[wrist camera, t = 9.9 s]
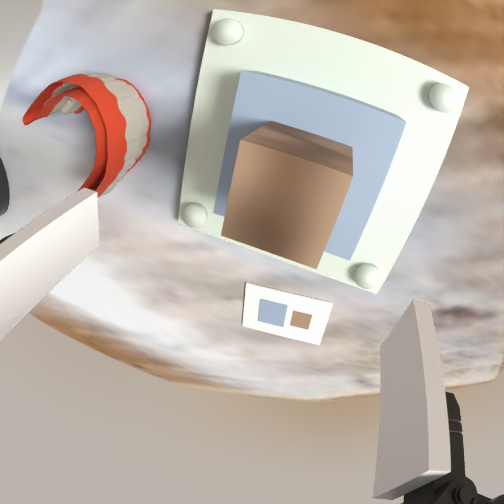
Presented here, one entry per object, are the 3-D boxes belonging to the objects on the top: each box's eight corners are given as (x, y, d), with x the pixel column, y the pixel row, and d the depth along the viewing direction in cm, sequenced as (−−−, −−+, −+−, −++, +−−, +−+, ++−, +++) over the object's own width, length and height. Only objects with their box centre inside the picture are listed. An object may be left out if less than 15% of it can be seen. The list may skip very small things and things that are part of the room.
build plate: (182, 219, 35) (173, 228, 33) (218, 11, 22) (208, 7, 20) (376, 287, 32) (376, 300, 30) (464, 86, 20) (473, 87, 18)
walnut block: (253, 193, 25) (220, 235, 19) (271, 120, 22) (240, 139, 16) (326, 218, 24) (316, 269, 19) (352, 146, 21) (353, 176, 15)
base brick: (229, 195, 30) (213, 213, 27) (256, 70, 23) (241, 70, 20) (350, 237, 29) (349, 260, 26) (398, 115, 22) (406, 122, 19)
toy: (184, 139, 30) (137, 162, 23) (121, 185, 35) (76, 214, 28) (124, 45, 26) (69, 47, 19) (72, 102, 31) (20, 118, 24)
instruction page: (242, 324, 40) (242, 326, 40) (246, 282, 37) (245, 283, 36) (319, 343, 39) (319, 345, 38) (333, 302, 35) (332, 304, 34)
